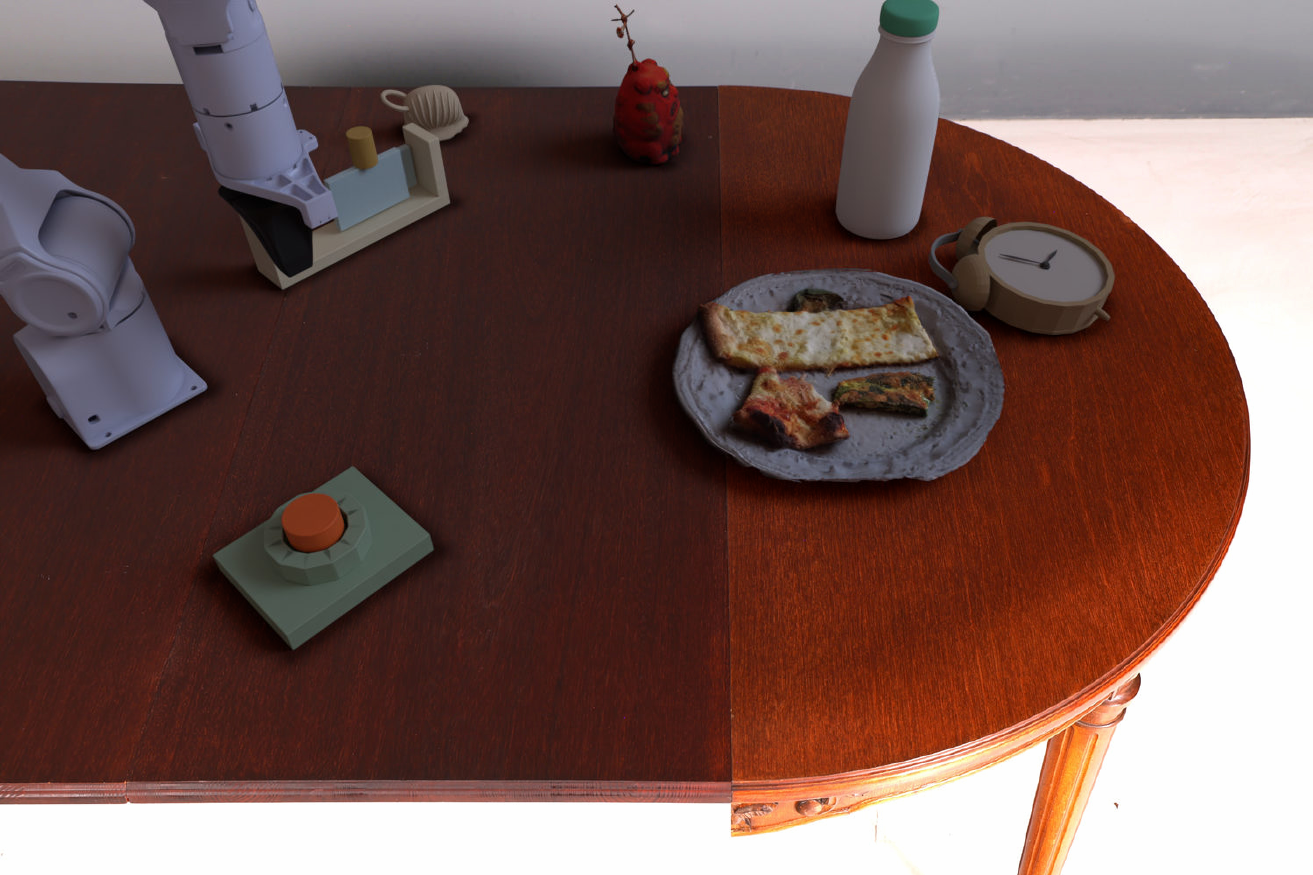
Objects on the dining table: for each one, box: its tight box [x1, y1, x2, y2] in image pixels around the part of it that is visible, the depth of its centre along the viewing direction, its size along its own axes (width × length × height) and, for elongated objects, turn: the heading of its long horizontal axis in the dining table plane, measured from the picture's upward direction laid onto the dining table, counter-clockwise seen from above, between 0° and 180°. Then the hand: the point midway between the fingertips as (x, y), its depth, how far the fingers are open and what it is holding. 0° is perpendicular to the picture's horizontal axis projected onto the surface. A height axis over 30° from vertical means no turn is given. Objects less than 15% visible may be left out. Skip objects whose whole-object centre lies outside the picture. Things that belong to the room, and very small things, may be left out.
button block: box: [212, 465, 435, 651], centre depth 69 cm, size 11×9×4 cm
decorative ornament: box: [379, 84, 470, 142], centre depth 107 cm, size 4×8×5 cm, turn 104°
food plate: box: [671, 267, 1007, 483], centre depth 80 cm, size 25×23×4 cm
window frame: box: [237, 123, 451, 291], centre depth 94 cm, size 18×4×7 cm, turn 136°
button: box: [281, 493, 344, 553], centre depth 68 cm, size 4×4×2 cm
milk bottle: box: [835, 0, 941, 240], centre depth 90 cm, size 8×8×20 cm
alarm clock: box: [928, 216, 1116, 336], centre depth 88 cm, size 11×5×15 cm
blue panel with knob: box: [323, 125, 410, 231], centre depth 94 cm, size 8×2×8 cm, turn 136°
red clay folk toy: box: [610, 3, 684, 166], centre depth 101 cm, size 8×7×15 cm
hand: (296, 268), depth 76 cm, fingers closed
